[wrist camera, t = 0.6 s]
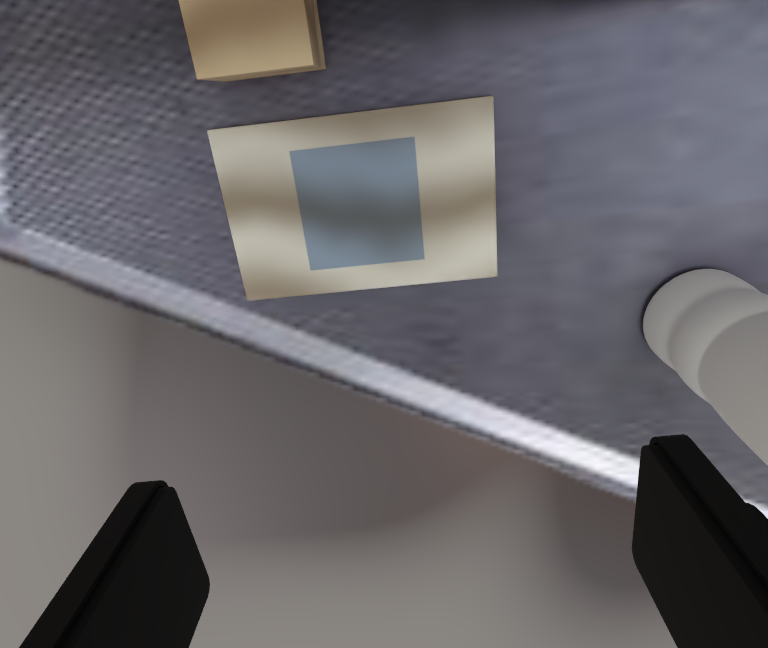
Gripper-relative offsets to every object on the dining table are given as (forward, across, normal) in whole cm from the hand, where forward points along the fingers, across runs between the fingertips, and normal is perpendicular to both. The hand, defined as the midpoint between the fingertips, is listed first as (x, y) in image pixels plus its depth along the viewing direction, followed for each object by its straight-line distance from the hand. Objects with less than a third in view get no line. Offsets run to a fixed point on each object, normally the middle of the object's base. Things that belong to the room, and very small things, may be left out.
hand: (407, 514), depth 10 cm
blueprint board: (+25, +2, -2) cm, 26 cm away
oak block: (+26, +6, -13) cm, 29 cm away
